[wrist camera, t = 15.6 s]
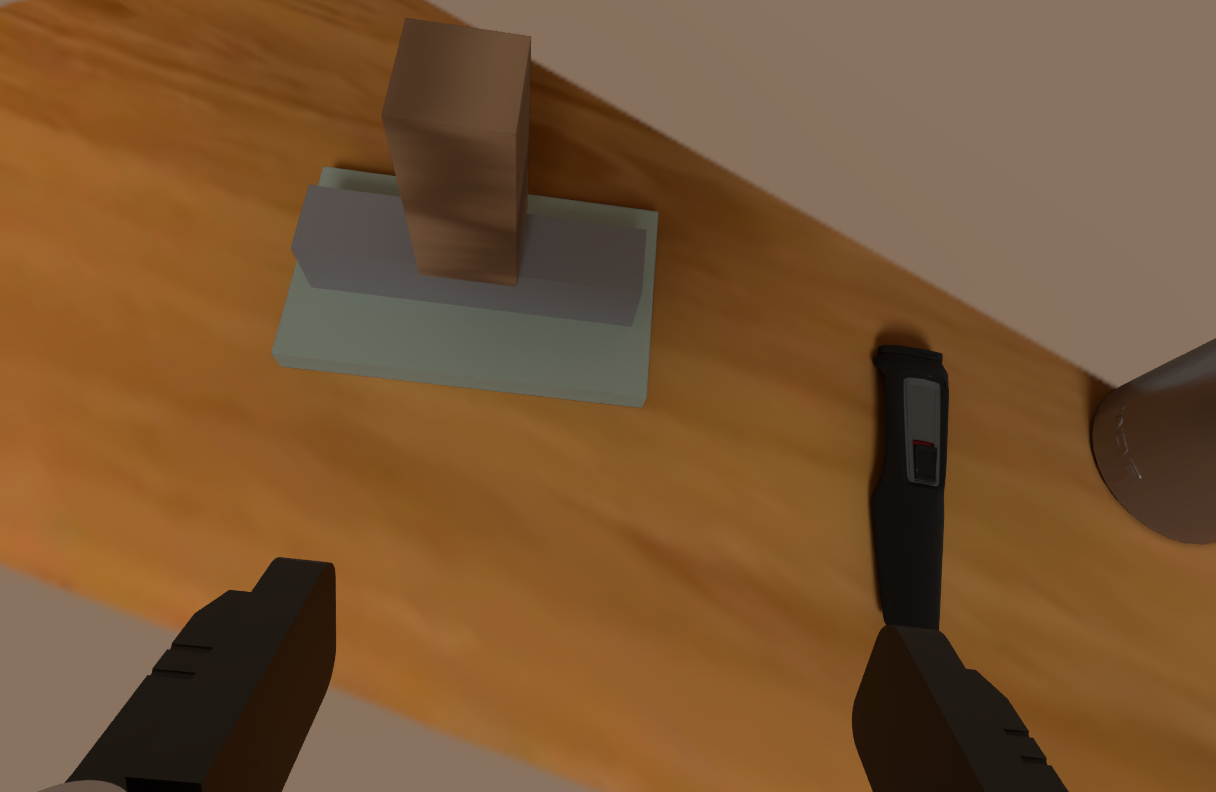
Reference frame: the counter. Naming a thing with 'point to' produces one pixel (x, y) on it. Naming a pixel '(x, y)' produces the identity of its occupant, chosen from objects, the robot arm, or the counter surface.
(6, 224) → the counter surface
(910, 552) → the electric trimmer
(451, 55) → the brown wooden block
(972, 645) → the counter surface
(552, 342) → the ridge board
